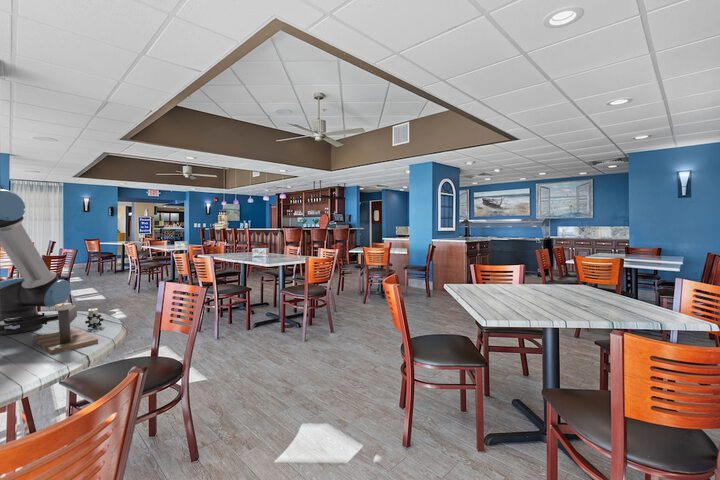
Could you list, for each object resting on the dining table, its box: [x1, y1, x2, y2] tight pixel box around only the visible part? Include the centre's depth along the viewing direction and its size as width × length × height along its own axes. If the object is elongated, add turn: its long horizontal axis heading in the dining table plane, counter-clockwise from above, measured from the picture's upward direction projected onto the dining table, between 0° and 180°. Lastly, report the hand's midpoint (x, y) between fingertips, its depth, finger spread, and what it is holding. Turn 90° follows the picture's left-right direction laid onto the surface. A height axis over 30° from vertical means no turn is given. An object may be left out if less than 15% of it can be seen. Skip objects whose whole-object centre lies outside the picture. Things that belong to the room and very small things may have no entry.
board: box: [32, 327, 99, 355], centre depth 135 cm, size 24×14×2 cm, turn 55°
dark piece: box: [54, 302, 78, 343], centre depth 135 cm, size 22×5×15 cm, turn 29°
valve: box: [84, 308, 105, 329], centre depth 157 cm, size 7×7×12 cm
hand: (67, 314), depth 139 cm, fingers closed
